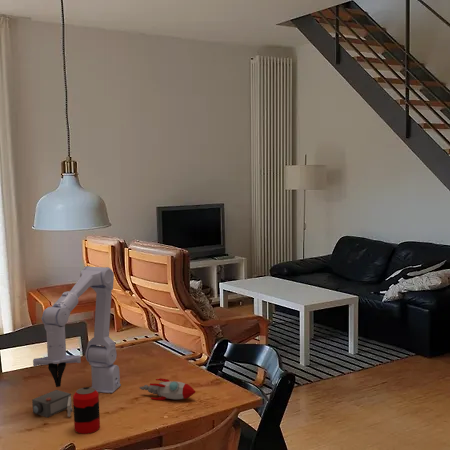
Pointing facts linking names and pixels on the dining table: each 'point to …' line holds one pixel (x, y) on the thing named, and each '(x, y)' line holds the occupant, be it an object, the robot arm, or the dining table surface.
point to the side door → (69, 406)
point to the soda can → (86, 410)
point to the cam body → (50, 403)
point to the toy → (169, 390)
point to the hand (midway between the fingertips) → (58, 385)
